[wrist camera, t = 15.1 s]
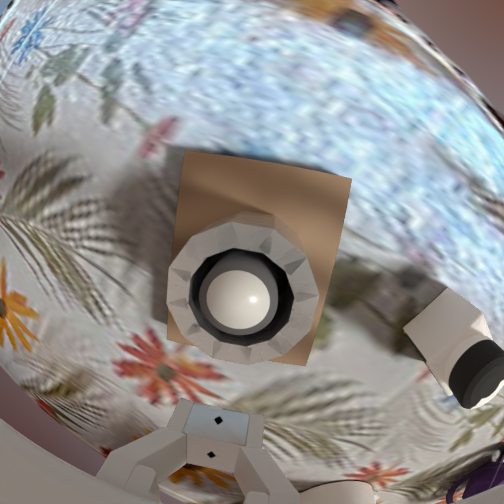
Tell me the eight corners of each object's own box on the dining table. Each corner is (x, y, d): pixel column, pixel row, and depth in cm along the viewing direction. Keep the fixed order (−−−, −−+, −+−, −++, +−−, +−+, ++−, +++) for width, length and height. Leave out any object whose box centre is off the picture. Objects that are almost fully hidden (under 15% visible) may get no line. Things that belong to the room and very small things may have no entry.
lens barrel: (293, 326, 26) (297, 372, 19) (190, 307, 26) (164, 346, 20) (317, 223, 24) (332, 240, 17) (202, 203, 24) (174, 212, 17)
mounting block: (303, 352, 29) (305, 366, 27) (174, 328, 30) (166, 339, 28) (345, 178, 25) (351, 178, 23) (193, 153, 26) (184, 150, 23)
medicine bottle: (400, 327, 28) (448, 396, 16) (447, 285, 26) (513, 335, 15) (424, 362, 29) (467, 428, 17) (467, 324, 27) (522, 377, 16)
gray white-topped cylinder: (272, 304, 25) (270, 341, 19) (214, 294, 25) (196, 327, 19) (283, 247, 23) (284, 270, 18) (221, 237, 24) (203, 255, 18)
